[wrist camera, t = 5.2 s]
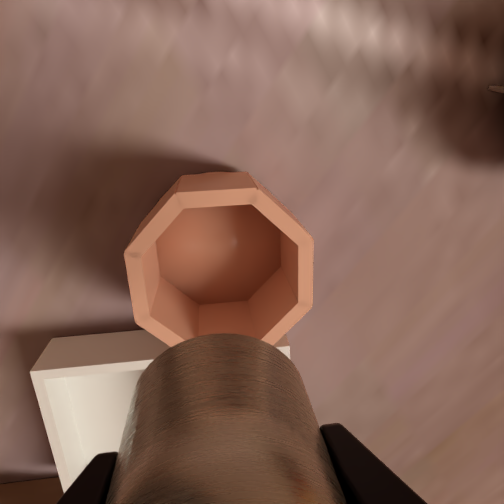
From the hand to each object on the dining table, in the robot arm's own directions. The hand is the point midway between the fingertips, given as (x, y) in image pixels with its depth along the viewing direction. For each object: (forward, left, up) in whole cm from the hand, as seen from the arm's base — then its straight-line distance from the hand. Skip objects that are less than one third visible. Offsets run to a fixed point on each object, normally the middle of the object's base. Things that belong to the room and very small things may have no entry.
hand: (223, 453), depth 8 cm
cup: (0, 0, -13) cm, 13 cm away
